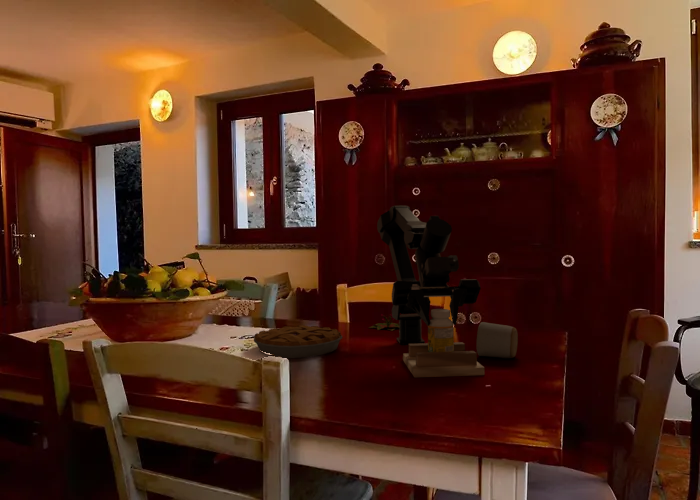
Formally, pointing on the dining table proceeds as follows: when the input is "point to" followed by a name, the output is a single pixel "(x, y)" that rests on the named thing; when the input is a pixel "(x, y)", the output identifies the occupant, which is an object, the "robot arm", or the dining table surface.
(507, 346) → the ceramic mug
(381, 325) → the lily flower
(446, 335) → the supplement bottle
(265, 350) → the pie
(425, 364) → the beech cradle
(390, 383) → the dining table surface
